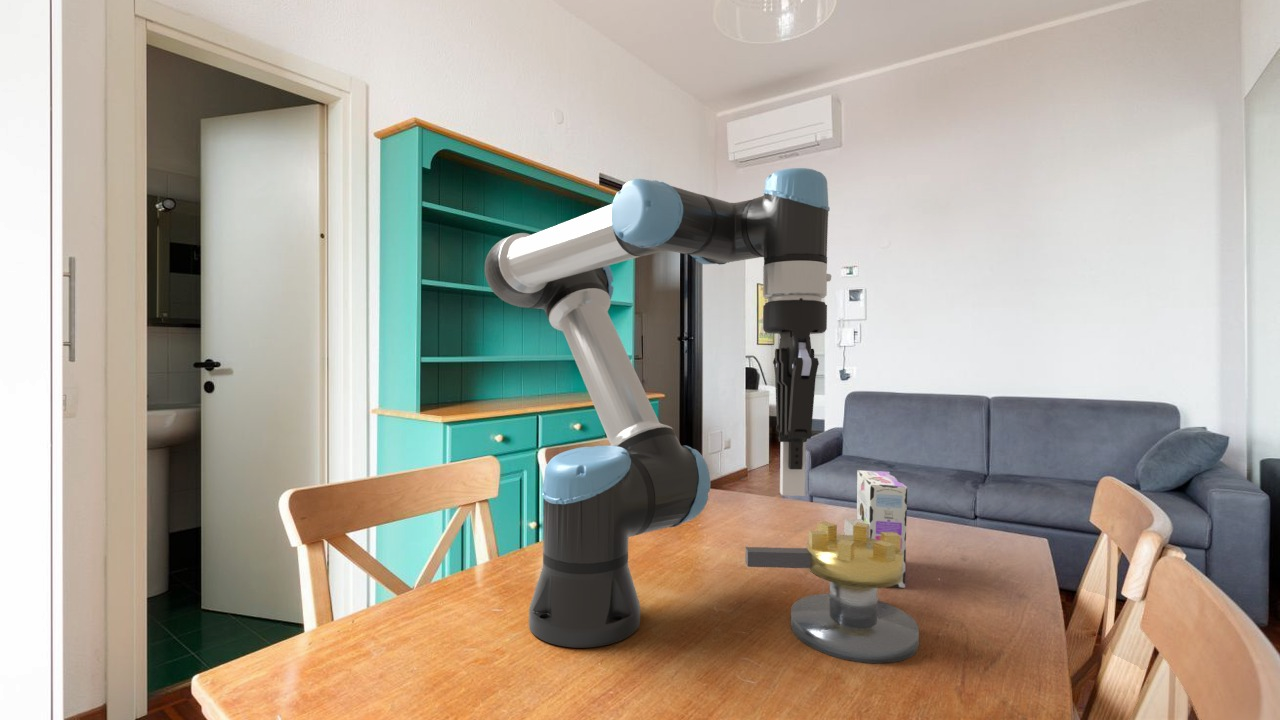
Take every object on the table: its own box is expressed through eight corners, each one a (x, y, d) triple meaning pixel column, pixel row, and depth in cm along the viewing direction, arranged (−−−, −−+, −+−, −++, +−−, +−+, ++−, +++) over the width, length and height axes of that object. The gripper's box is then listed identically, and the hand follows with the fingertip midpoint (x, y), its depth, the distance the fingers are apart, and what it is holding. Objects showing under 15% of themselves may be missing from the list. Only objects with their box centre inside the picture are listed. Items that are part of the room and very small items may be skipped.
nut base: (807, 661, 72) (809, 562, 72) (774, 594, 92) (775, 517, 92) (941, 665, 71) (943, 565, 71) (879, 597, 91) (880, 519, 91)
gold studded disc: (753, 585, 74) (754, 544, 74) (740, 553, 86) (740, 518, 86) (918, 589, 73) (919, 548, 73) (882, 556, 85) (882, 521, 85)
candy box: (906, 589, 95) (908, 486, 95) (867, 586, 96) (869, 484, 96) (888, 560, 108) (890, 470, 108) (854, 557, 110) (856, 468, 109)
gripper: (842, 295, 66) (839, 508, 66) (811, 305, 79) (809, 483, 79) (774, 295, 66) (771, 507, 66) (755, 305, 79) (752, 482, 79)
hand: (792, 494), depth 73 cm, fingers closed
